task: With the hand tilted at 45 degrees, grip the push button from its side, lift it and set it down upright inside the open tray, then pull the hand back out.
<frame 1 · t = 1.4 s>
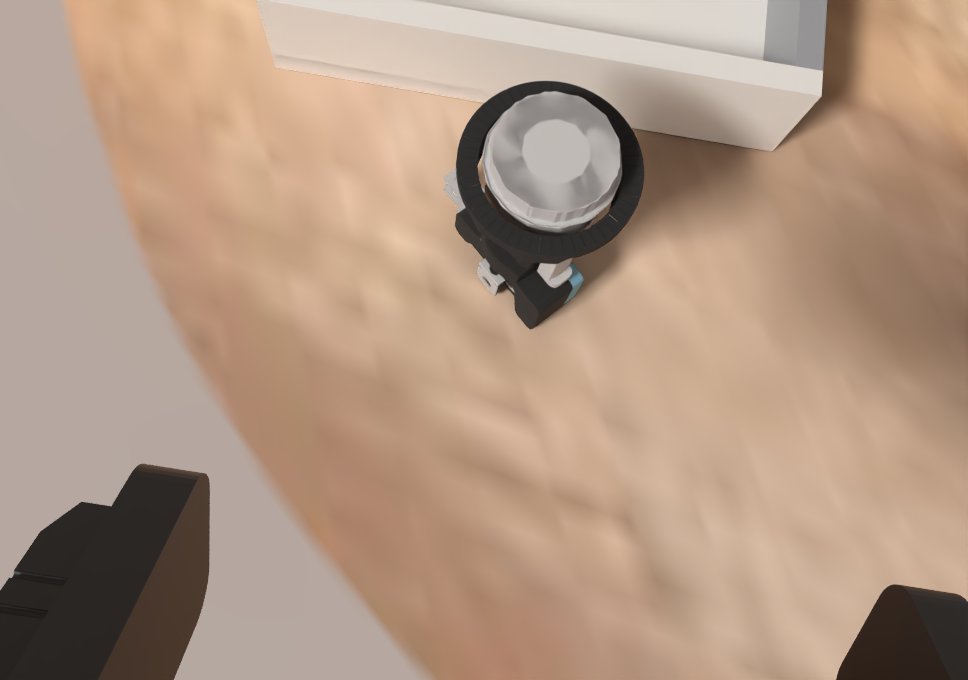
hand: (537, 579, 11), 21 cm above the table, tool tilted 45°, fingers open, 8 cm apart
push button: (504, 253, 34), on the table
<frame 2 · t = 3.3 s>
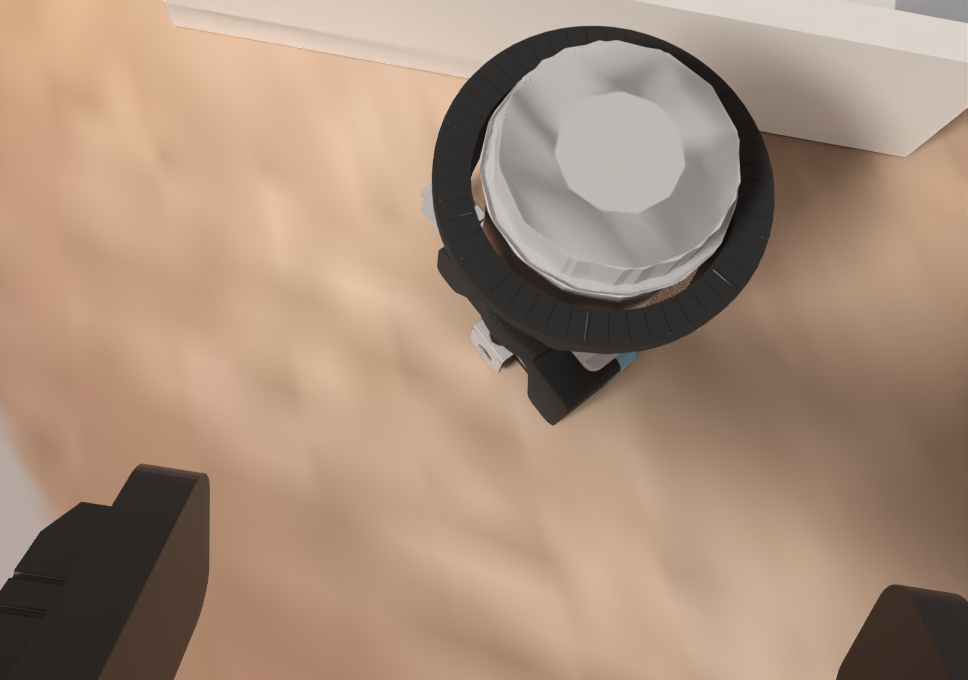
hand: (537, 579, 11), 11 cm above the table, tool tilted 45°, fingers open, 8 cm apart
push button: (512, 306, 23), on the table
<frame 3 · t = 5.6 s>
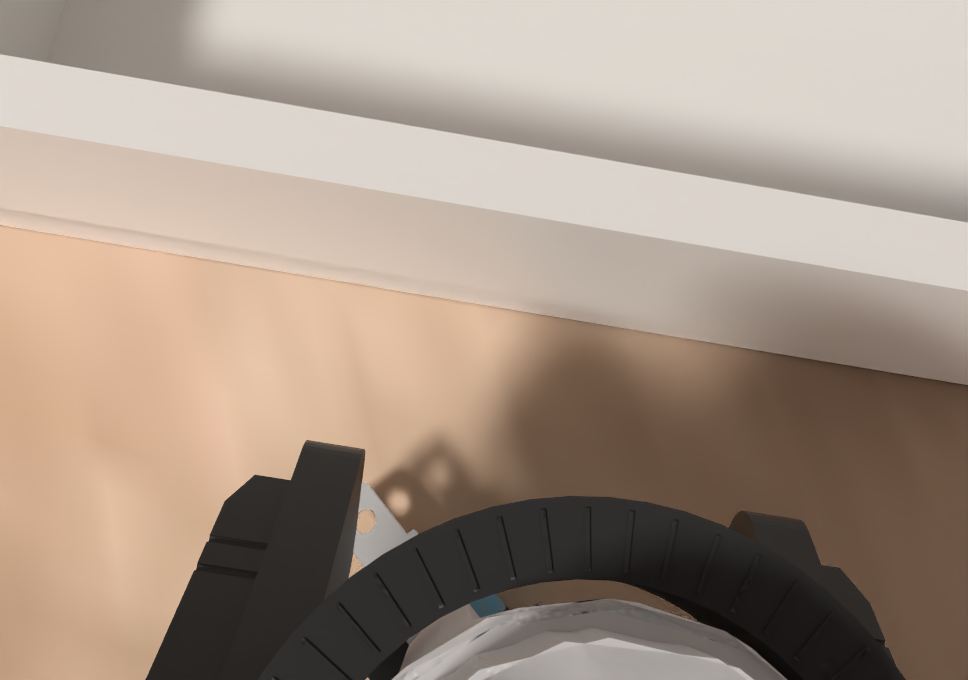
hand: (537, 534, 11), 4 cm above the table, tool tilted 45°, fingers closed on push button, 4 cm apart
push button: (477, 655, 15), on the table, touching gripper
tray: (567, 24, 18), on the table
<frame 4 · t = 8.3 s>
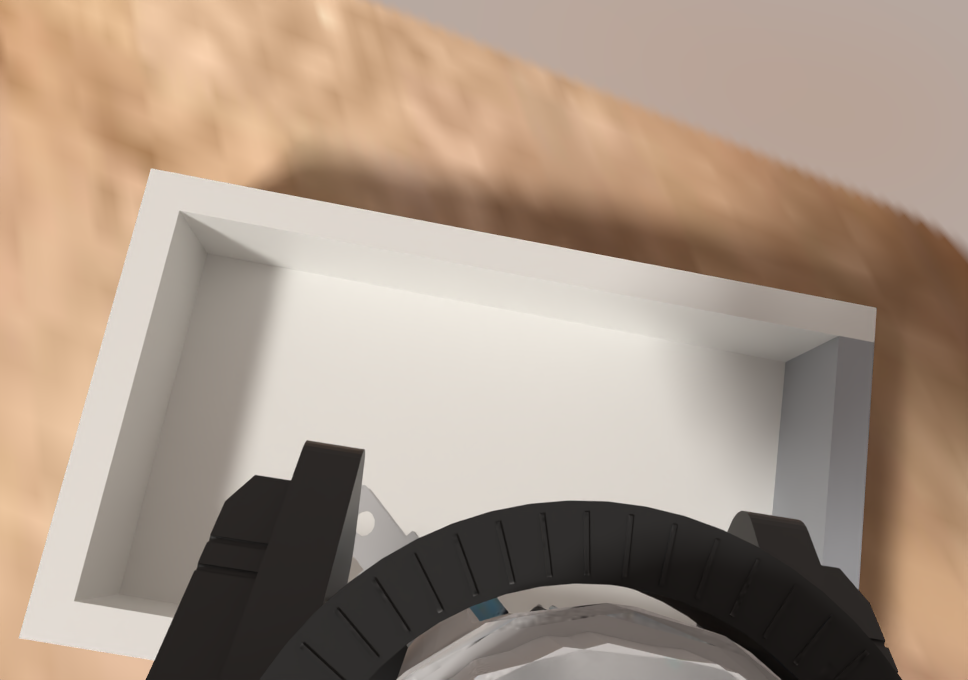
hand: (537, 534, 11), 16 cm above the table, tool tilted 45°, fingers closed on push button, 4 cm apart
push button: (476, 656, 15), point 11 cm above the table, touching gripper
tray: (470, 473, 27), on the table
when the fingers open (6 cm above the table, at t = 10.9 s): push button drops 1 cm, resting on tray.
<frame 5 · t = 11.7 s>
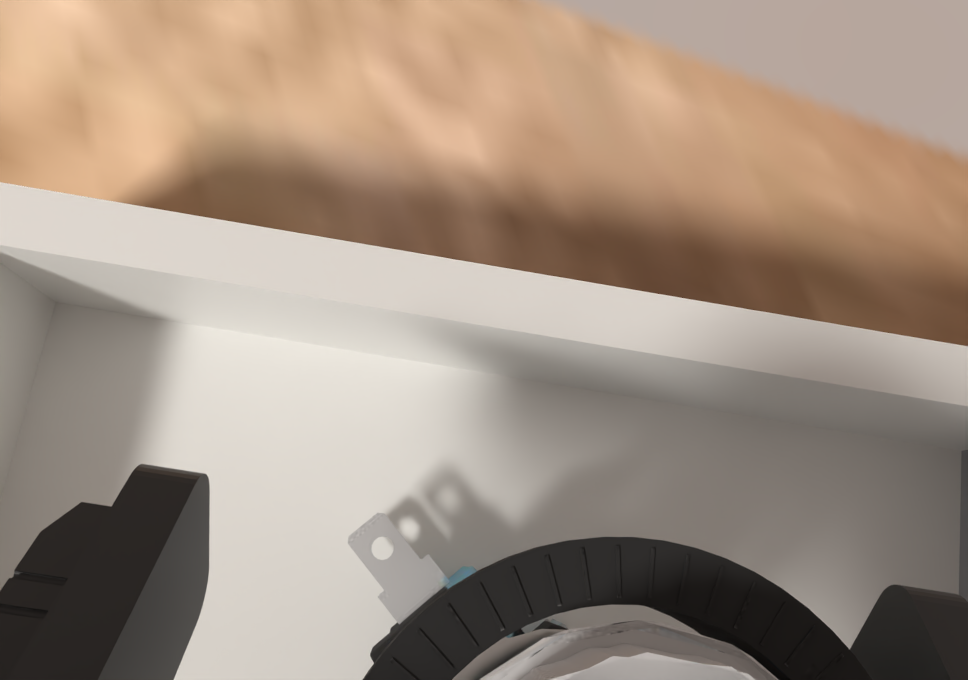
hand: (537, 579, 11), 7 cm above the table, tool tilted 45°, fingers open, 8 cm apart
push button: (483, 667, 16), point 1 cm above the table, touching tray
tray: (476, 639, 17), on the table
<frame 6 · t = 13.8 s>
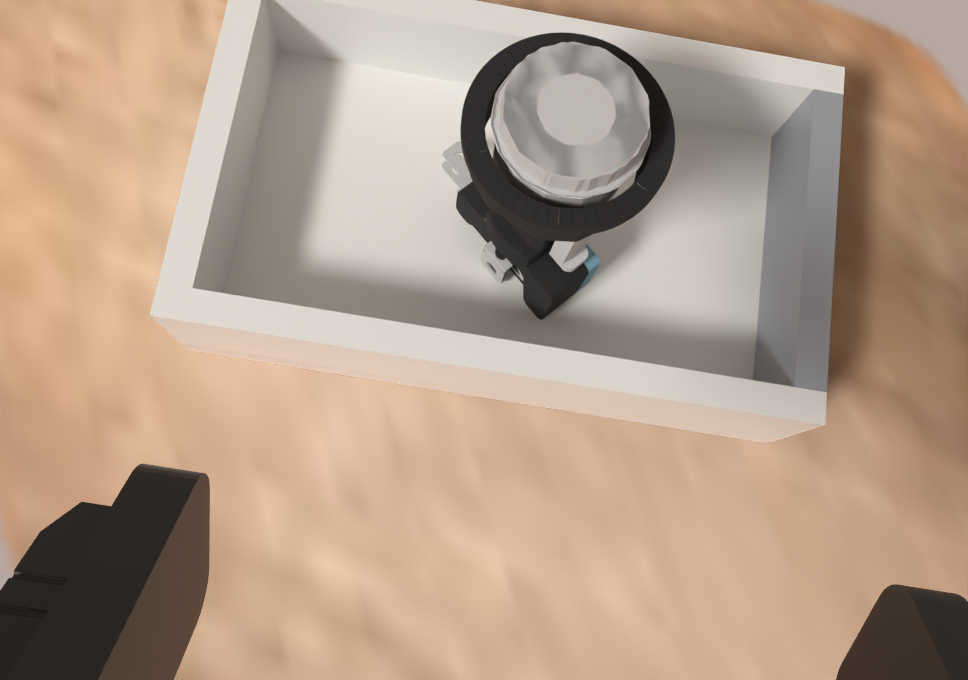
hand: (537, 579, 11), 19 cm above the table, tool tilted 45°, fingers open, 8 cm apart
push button: (510, 237, 31), point 1 cm above the table, touching tray
tray: (505, 233, 32), on the table
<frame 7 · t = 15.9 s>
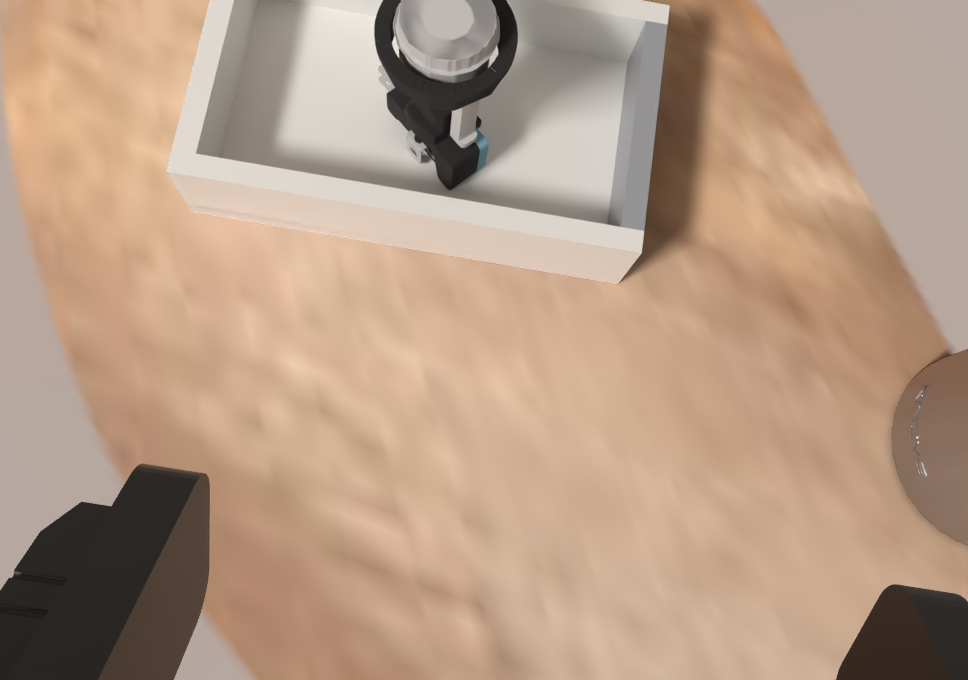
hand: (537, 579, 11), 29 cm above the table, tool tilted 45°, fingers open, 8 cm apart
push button: (429, 132, 42), point 1 cm above the table, touching tray
tray: (428, 132, 43), on the table
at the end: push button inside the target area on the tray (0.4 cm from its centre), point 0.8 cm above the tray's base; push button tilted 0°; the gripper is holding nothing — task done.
